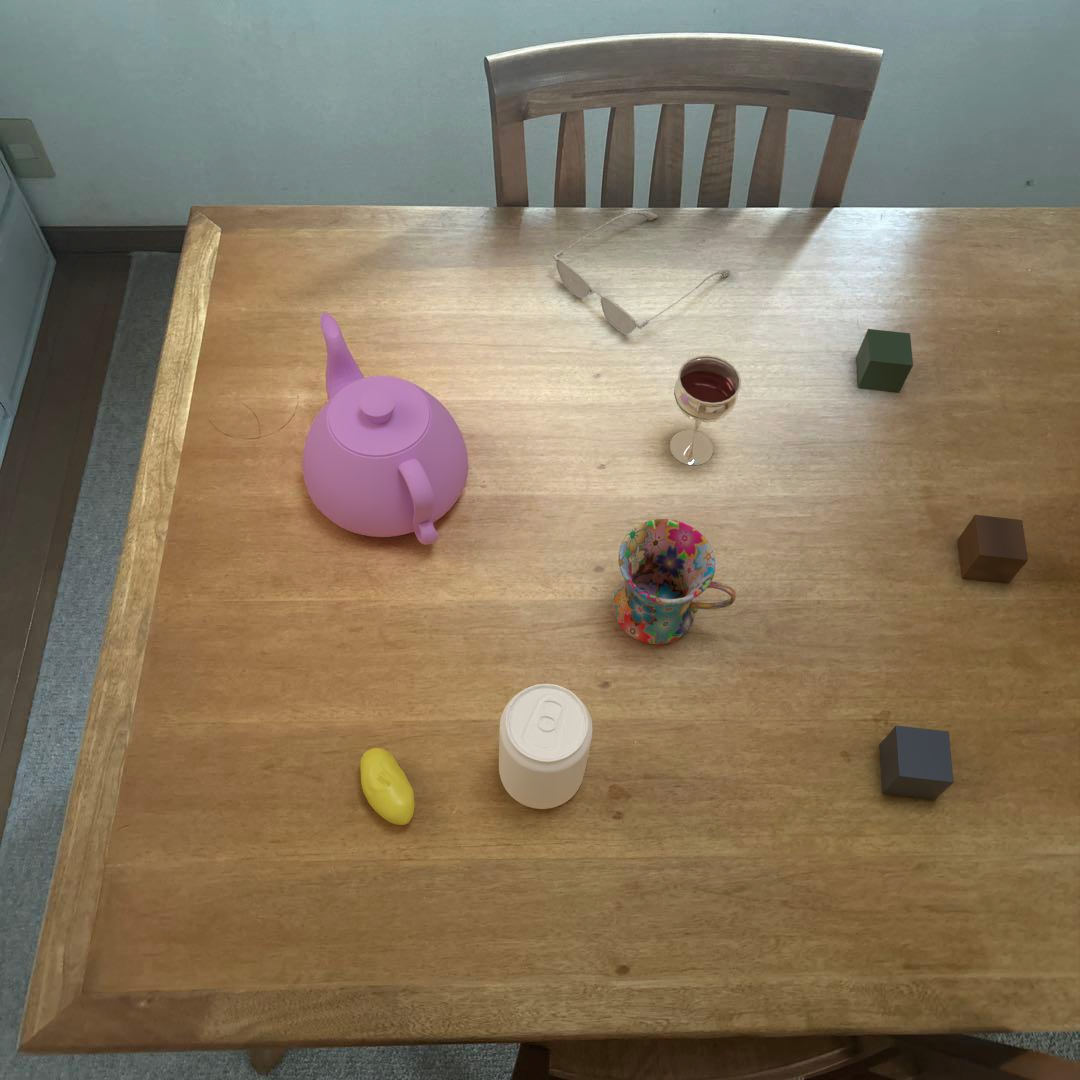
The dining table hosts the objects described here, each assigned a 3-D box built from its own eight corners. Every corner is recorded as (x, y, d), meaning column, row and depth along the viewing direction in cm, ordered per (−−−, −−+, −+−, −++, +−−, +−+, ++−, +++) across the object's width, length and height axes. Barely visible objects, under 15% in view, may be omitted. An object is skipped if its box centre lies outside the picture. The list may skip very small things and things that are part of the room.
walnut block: (1003, 544, 118) (1022, 519, 114) (1008, 583, 116) (1028, 560, 111) (957, 539, 118) (974, 514, 114) (961, 578, 116) (979, 554, 112)
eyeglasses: (549, 276, 137) (551, 252, 133) (650, 212, 143) (654, 188, 140) (635, 347, 131) (639, 324, 128) (735, 277, 138) (742, 254, 134)
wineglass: (688, 481, 121) (706, 415, 111) (649, 441, 124) (664, 372, 113) (733, 453, 123) (755, 386, 113) (694, 414, 126) (712, 345, 116)
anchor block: (930, 750, 105) (949, 731, 101) (934, 800, 103) (954, 782, 99) (879, 744, 106) (895, 725, 101) (882, 794, 103) (899, 776, 99)
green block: (896, 361, 132) (910, 333, 127) (899, 393, 129) (913, 365, 125) (855, 356, 132) (867, 328, 127) (857, 388, 129) (870, 360, 125)
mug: (595, 633, 111) (605, 582, 102) (624, 560, 115) (636, 506, 106) (708, 673, 109) (728, 625, 100) (732, 598, 113) (754, 545, 104)
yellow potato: (393, 747, 103) (389, 732, 100) (425, 822, 100) (423, 808, 96) (351, 764, 102) (346, 750, 99) (382, 841, 99) (379, 828, 95)
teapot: (508, 522, 117) (510, 447, 106) (359, 592, 112) (344, 521, 100) (405, 366, 128) (396, 282, 116) (264, 423, 123) (241, 341, 111)
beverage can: (487, 796, 101) (486, 750, 91) (513, 719, 105) (516, 667, 95) (570, 822, 100) (579, 779, 90) (593, 743, 104) (604, 693, 94)
